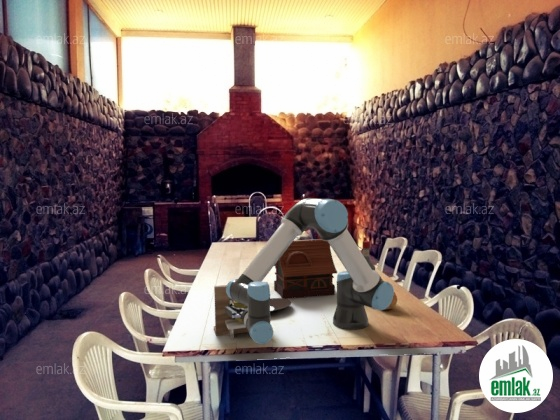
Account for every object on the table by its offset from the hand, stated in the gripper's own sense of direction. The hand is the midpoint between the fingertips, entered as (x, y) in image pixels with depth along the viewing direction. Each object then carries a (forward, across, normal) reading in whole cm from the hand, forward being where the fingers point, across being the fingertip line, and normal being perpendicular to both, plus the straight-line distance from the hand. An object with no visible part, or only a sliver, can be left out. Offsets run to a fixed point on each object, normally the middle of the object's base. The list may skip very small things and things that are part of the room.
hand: (242, 302), depth 183 cm
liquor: (+30, +70, -13) cm, 77 cm away
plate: (+29, +15, -13) cm, 36 cm away
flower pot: (-5, 0, -6) cm, 8 cm away
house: (+52, +44, -13) cm, 70 cm away
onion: (+12, +72, -13) cm, 74 cm away
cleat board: (0, 0, -13) cm, 13 cm away
